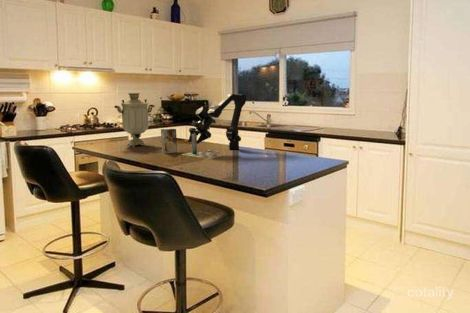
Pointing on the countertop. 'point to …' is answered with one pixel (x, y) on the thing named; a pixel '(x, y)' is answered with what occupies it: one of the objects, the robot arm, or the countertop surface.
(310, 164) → the countertop surface
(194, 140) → the key rod
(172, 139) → the coffee box
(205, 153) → the board
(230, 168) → the countertop surface
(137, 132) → the samovar
